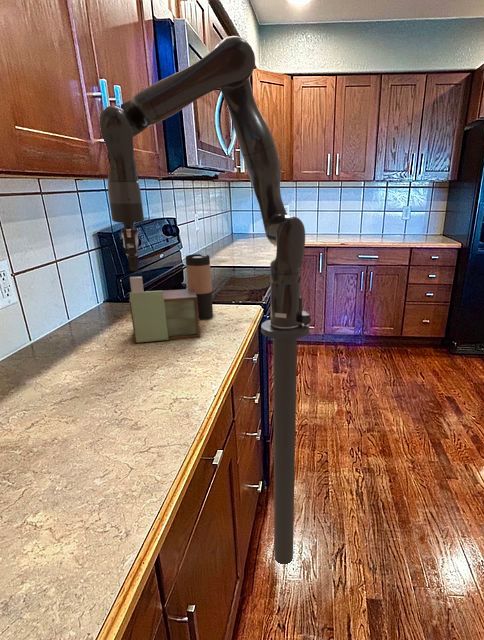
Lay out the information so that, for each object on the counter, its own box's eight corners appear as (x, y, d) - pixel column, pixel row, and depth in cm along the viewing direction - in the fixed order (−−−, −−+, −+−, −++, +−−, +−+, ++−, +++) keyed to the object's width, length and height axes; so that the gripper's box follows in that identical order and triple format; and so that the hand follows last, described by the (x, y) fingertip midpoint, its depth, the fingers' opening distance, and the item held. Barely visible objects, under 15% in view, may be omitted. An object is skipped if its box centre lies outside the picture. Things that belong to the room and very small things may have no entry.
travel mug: (192, 320, 136) (187, 258, 129) (188, 314, 143) (183, 254, 135) (215, 318, 139) (212, 257, 131) (211, 312, 146) (207, 253, 138)
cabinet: (196, 326, 131) (193, 288, 127) (200, 336, 123) (197, 296, 118) (135, 331, 126) (130, 292, 122) (135, 343, 118) (129, 301, 113)
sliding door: (168, 337, 120) (161, 275, 113) (168, 340, 119) (161, 276, 111) (136, 340, 118) (127, 277, 111) (136, 343, 116) (127, 278, 109)
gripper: (141, 202, 98) (149, 272, 104) (141, 200, 110) (149, 262, 117) (107, 202, 96) (117, 273, 102) (111, 200, 108) (120, 263, 115)
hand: (134, 267), depth 109 cm, fingers open, 8 cm apart
